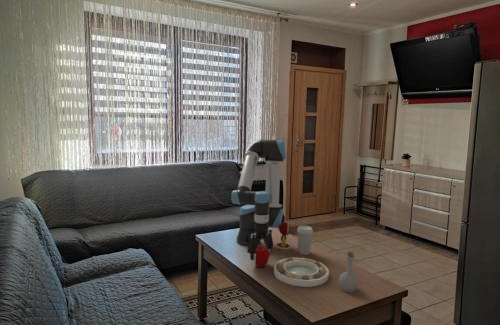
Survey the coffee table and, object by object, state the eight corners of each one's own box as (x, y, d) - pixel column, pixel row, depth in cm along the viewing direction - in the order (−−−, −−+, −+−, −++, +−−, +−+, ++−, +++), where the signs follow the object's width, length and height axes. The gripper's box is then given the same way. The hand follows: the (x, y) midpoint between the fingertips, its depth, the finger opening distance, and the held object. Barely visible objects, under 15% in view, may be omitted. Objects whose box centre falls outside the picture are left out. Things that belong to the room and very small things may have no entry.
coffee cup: (311, 250, 207) (312, 225, 205) (313, 256, 198) (314, 230, 196) (295, 249, 208) (296, 224, 206) (296, 255, 199) (297, 229, 197)
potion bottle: (334, 288, 160) (337, 251, 158) (344, 282, 166) (347, 246, 164) (352, 295, 154) (354, 256, 152) (361, 289, 160) (364, 251, 158)
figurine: (291, 249, 207) (293, 225, 205) (274, 248, 207) (277, 223, 206) (290, 245, 215) (293, 221, 214) (274, 243, 216) (277, 219, 214)
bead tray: (262, 272, 175) (263, 264, 174) (297, 258, 193) (297, 251, 193) (305, 292, 155) (305, 283, 155) (339, 275, 174) (339, 267, 173)
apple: (247, 265, 183) (247, 245, 182) (260, 260, 190) (261, 241, 188) (259, 271, 176) (260, 251, 175) (273, 266, 182) (273, 246, 181)
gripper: (250, 227, 170) (249, 271, 172) (281, 219, 185) (279, 259, 187) (240, 223, 175) (239, 266, 178) (271, 216, 190) (269, 255, 193)
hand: (260, 262), depth 182 cm, fingers closed on apple, 10 cm apart
